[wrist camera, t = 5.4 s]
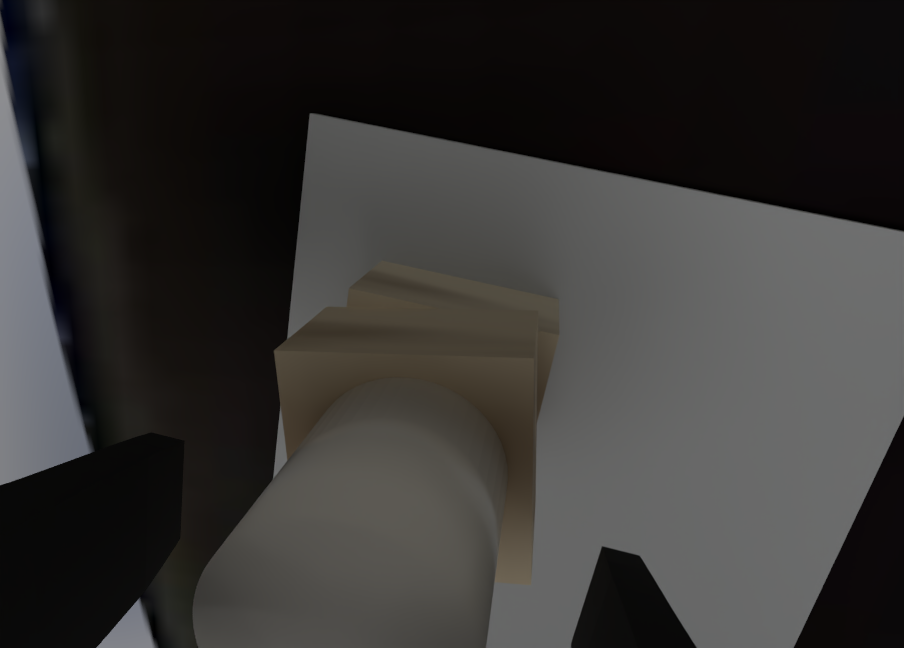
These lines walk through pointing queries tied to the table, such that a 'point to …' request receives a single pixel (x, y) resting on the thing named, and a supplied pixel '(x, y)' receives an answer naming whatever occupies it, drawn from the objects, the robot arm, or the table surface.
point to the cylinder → (368, 531)
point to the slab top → (435, 360)
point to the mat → (645, 365)
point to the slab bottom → (457, 302)
